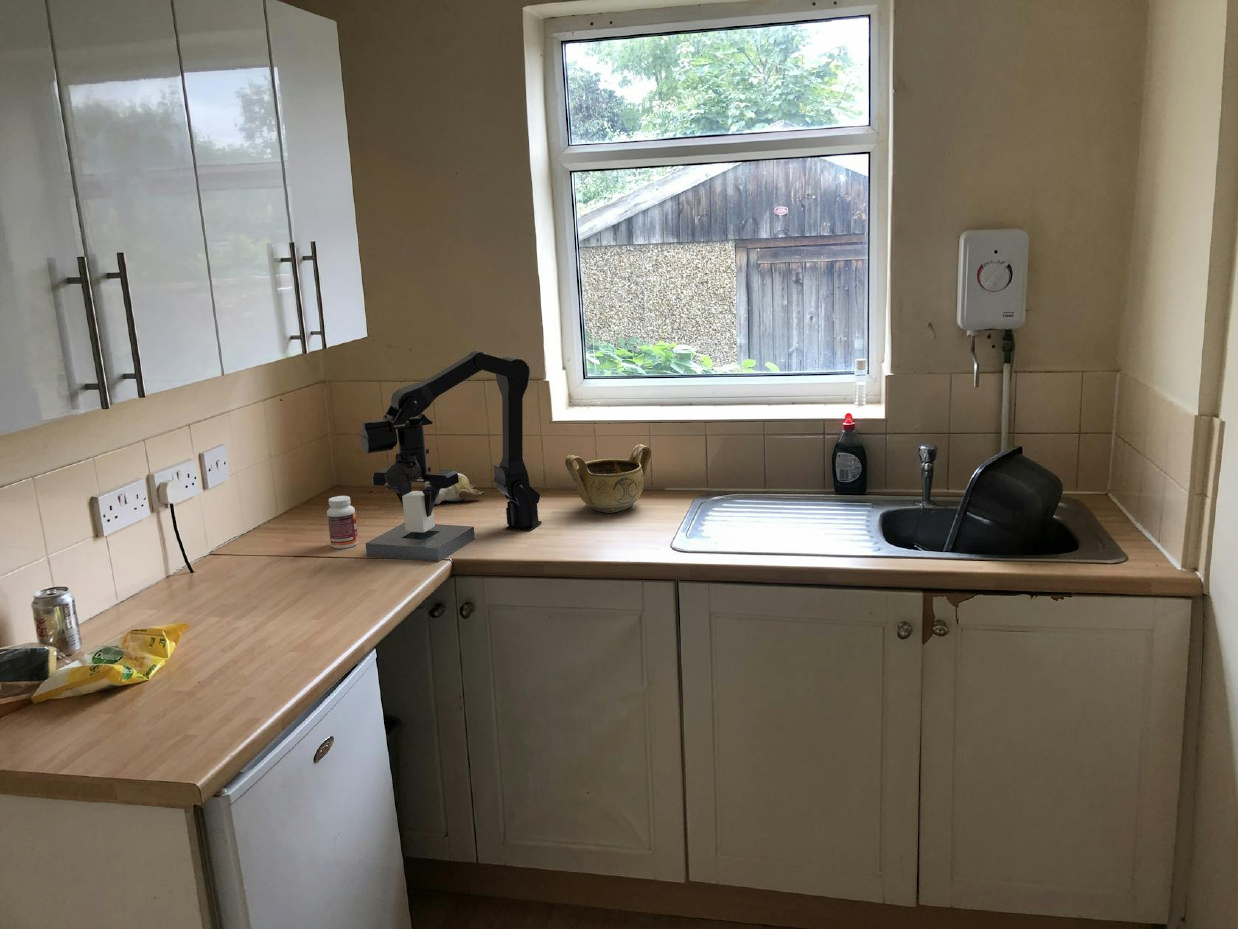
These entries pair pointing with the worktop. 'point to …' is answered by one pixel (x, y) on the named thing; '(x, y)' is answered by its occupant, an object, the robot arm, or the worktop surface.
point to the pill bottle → (342, 523)
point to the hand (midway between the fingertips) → (419, 515)
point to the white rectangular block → (416, 513)
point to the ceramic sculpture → (458, 491)
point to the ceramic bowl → (610, 480)
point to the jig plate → (420, 543)
